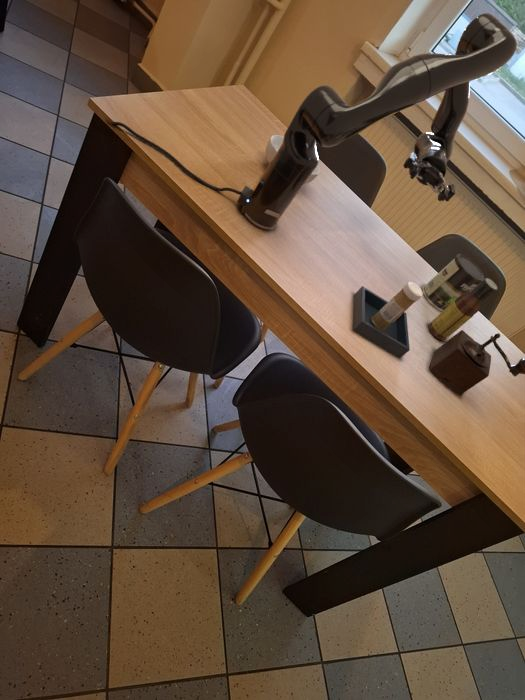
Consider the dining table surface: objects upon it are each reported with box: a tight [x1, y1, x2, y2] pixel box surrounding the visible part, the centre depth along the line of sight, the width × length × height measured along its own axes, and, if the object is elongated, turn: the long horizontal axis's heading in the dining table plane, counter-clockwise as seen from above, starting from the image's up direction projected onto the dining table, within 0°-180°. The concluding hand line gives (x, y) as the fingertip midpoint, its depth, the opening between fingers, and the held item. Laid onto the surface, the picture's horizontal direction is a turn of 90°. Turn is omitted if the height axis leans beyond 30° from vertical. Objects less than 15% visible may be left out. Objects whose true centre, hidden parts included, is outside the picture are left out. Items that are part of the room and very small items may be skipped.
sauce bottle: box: [428, 277, 498, 341], centre depth 130 cm, size 7×6×20 cm
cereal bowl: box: [265, 134, 321, 185], centre depth 144 cm, size 17×17×7 cm
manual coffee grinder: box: [428, 329, 525, 397], centre depth 120 cm, size 16×11×18 cm
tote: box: [352, 285, 411, 359], centre depth 121 cm, size 14×14×4 cm
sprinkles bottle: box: [371, 281, 424, 331], centre depth 117 cm, size 5×5×14 cm
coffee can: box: [421, 253, 486, 312], centre depth 145 cm, size 10×10×14 cm
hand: (428, 186), depth 116 cm, fingers open, 8 cm apart
